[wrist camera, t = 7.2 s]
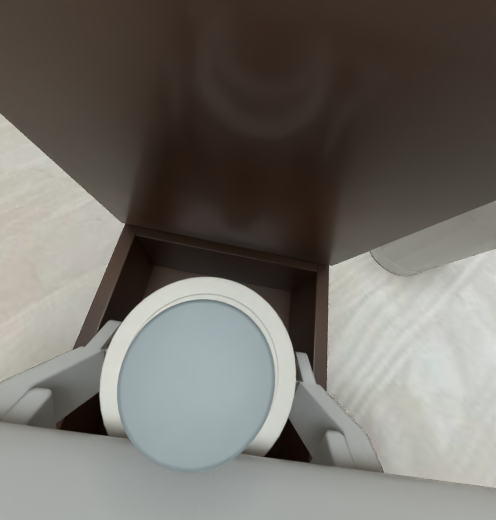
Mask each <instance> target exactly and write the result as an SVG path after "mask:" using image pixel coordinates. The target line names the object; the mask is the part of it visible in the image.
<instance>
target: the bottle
mask: <svg viewBox="0 0 496 520" xmlns="http://www.w3.org/2000/svg"><path fill="white" fill-rule="evenodd" d="M295 385H296V365H295V356H294V352H293V347H292V343H291V340H290V338H289V335H288V332H287V330H286V328H285V326H284V324H283V322H282V320H281V319H280V317H279V316H278V314H277V313H276V312H275V310H274V309H273V308H272V307H271V306H270V304H269V303H268V302H267V301H265V300H264V299H263V298H262V297H261V296H260V295H258V294H257V293H256V292H254V291H253V290H251V289H249V288H248V287H246V286H244V285H242V284H239V283H237V282H234V281H231V280H227V279H223V278H217V277H195V278H188V279H184V280H180V281H177V282H174V283H171V284H169V285H166V286H165V287H163V288H161V289H159V290H157V291H155V292H154V293H152V294H151V295H149V296H148V297H146V298H145V299H144V300H143V301H142V302H140V303H139V304H138V305H137V306H136V307H135V308H134V309H133V310H132V311H131V312H130V313H129V314H128V316H127V317H126V318H125V320H124V321H123V322H122V324H121V325H120V326H119V328H118V330H117V331H116V333H115V335H114V337H113V338H112V341H111V343H110V345H109V348H108V350H107V352H106V356H105V359H104V363H103V366H102V372H101V378H100V394H99V396H100V407H101V414H102V418H103V422H104V426H105V429H106V431H107V434H108V436H111V437H118V438H126V439H130V441H131V443H132V444H133V445H134V446H135V448H136V449H137V450H138V451H139V452H140V453H141V454H142V455H143V456H144V457H146V458H147V459H148V460H149V461H151V462H153V463H154V464H156V465H158V466H160V467H162V468H165V469H167V470H171V471H176V472H182V473H195V472H203V471H207V470H211V469H214V468H217V467H219V466H221V465H223V464H226V463H227V462H229V461H230V460H232V459H234V458H235V457H236V456H238V455H239V454H245V455H252V456H260V457H264V456H265V455H266V454H267V452H268V451H269V450H270V449H271V448H272V446H273V445H274V443H275V442H276V440H277V439H278V437H279V436H280V434H281V432H282V430H283V428H284V426H285V424H286V421H287V419H288V416H289V413H290V411H291V407H292V403H293V399H294V393H295Z"/></svg>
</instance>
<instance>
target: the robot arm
mask: <svg viewBox="0 0 496 520" xmlns="http://www.w3.org/2000/svg"><path fill="white" fill-rule="evenodd" d="M121 324H122V322H120V321H115V320H110V321H108V322H107V323H106V324H105V325H104V326H103V327H102V328H101V330H100V331H99V332H98V333H97V334H96V335H95V336H94V337H93V338H92V340H91V341H90V342H89V343H88V344H87V345H86V346H85V347H82V346H81V347H78V348H76V349H74V350H72V351H69V352H67V353H65V354H62V355H60V356H58V357H56V358H53V359H51V360H49V361H47V362H44V363H42V364H40V365H37V366H35V367H33V368H31V369H28V370H26V371H24V372H22V373H19V374H17V375H15V376H12V377H10V378H8V379H6V380H3V381H2V382H1V383H0V520H496V488H492V487H484V486H477V485H469V484H462V483H454V482H447V481H439V480H432V479H424V478H417V477H409V476H402V475H394V474H387V473H384V471H383V469H382V466H381V464H380V462H379V460H378V457H377V455H376V453H375V450H374V448H373V446H372V444H371V441H370V439H369V437H368V435H367V434H366V433H365V432H364V431H363V430H362V429H361V427H360V426H359V425H358V424H357V423H356V422H355V421H354V420H353V419H352V418H351V417H350V416H349V415H348V414H347V413H346V412H345V411H344V410H343V409H342V408H341V407H340V406H339V404H338V403H337V402H336V401H335V400H334V399H333V398H332V397H331V396H330V395H329V394H328V393H327V392H326V391H325V390H324V389H323V388H322V387H321V386H320V385H318V384H316V382H315V378H314V375H313V372H312V369H311V366H310V363H309V359H308V356H307V354H306V353H302V352H296V351H293V352H294V356H295V365H296V385H295V393H294V399H293V403H292V407H291V411H290V413H289V416H288V418H289V420H290V421H291V423H292V425H293V426H294V428H295V430H296V431H297V433H298V435H299V436H300V438H301V439H302V441H303V443H304V444H305V446H306V448H307V449H308V451H309V453H310V454H311V456H312V460H311V462H310V463H305V462H298V461H290V460H283V459H275V458H267V457H260V456H252V455H245V454H239V455H238V456H236V457H235V458H234V459H232V460H230V461H229V462H227V463H226V464H223V465H221V466H219V467H217V468H214V469H211V470H207V471H203V472H195V473H182V472H176V471H171V470H167V469H165V468H162V467H160V466H158V465H156V464H154V463H153V462H151V461H149V460H148V459H147V458H146V457H144V456H143V455H142V454H141V453H140V452H139V451H138V450H137V449H136V448H135V446H134V445H133V444H132V443H131V441H130V439H126V438H118V437H111V436H103V435H96V434H88V433H81V432H73V431H66V430H58V429H56V423H57V422H59V421H60V420H61V419H63V418H64V417H65V416H67V415H68V414H69V413H71V412H72V411H74V410H75V409H76V408H78V407H79V406H80V405H82V404H83V403H84V402H86V401H87V400H89V399H90V398H91V397H93V396H94V395H95V394H97V393H98V392H99V391H100V378H101V372H102V366H103V363H104V359H105V356H106V352H107V350H108V348H109V345H110V343H111V341H112V338H113V337H114V335H115V333H116V331H117V330H118V328H119V326H120V325H121Z"/></svg>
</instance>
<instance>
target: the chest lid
mask: <svg viewBox="0 0 496 520" xmlns="http://www.w3.org/2000/svg"><path fill="white" fill-rule="evenodd" d="M0 113H1V114H2V115H3V116H4V117H5V118H6V119H7V120H8V121H9V122H11V123H12V124H13V125H14V126H15V127H16V128H17V129H18V130H19V131H20V132H22V133H23V134H24V135H25V136H26V137H27V138H28V139H29V140H30V141H32V142H33V143H34V144H35V145H36V146H37V147H38V148H39V149H40V150H42V151H43V152H44V153H45V154H46V155H47V156H48V157H49V158H50V159H52V160H53V161H54V162H55V163H56V164H57V165H58V166H59V167H60V168H62V169H63V170H64V171H65V172H66V173H67V174H68V175H69V176H70V177H72V178H73V179H74V180H75V181H76V182H77V183H78V184H79V185H80V186H82V187H83V188H84V189H85V190H86V191H87V192H88V193H89V194H90V195H92V196H93V197H94V198H95V199H96V200H97V201H98V202H99V203H100V204H102V205H103V206H104V207H105V208H106V209H107V210H108V211H109V212H110V213H112V214H113V215H114V216H115V217H116V218H117V219H118V220H119V221H120V222H122V223H125V224H130V225H135V226H140V227H145V228H150V229H155V230H159V231H164V232H169V233H174V234H179V235H184V236H189V237H194V238H199V239H204V240H208V241H213V242H218V243H223V244H228V245H233V246H238V247H243V248H248V249H252V250H257V251H262V252H267V253H272V254H277V255H282V256H287V257H292V258H297V259H301V260H306V261H311V262H316V263H321V264H326V265H331V266H333V265H335V264H338V263H340V262H343V261H345V260H348V259H350V258H353V257H355V256H358V255H360V254H363V253H365V252H368V251H370V250H373V249H375V248H378V247H380V246H383V245H385V244H388V243H390V242H393V241H396V240H398V239H401V238H403V237H406V236H408V235H411V234H413V233H416V232H418V231H421V230H423V229H426V228H428V227H431V226H433V225H436V224H438V223H441V222H443V221H446V220H448V219H451V218H453V217H456V216H458V215H461V214H464V213H466V212H469V211H471V210H474V209H476V208H479V207H481V206H484V205H486V204H489V203H491V202H494V201H496V0H0Z"/></svg>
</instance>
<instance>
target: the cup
mask: <svg viewBox="0 0 496 520" xmlns="http://www.w3.org/2000/svg"><path fill="white" fill-rule="evenodd" d="M493 249H496V201H494V202H491V203H489V204H486V205H484V206H481V207H479V208H476V209H474V210H471V211H469V212H466V213H464V214H461V215H458V216H456V217H453V218H451V219H448V220H446V221H443V222H441V223H438V224H436V225H433V226H431V227H428V228H426V229H423V230H421V231H418V232H416V233H413V234H411V235H408V236H406V237H403V238H401V239H398V240H396V241H393V242H390V243H388V244H385V245H383V246H380V247H378V248H375V249H373V250H370V252H371V254H372V256H373V257H374V259H375V260H376V261H377V262H378V263H379V264H380V265H381V266H382V267H383V268H385V269H386V270H388V271H390V272H392V273H394V274H397V275H401V276H411V275H415V274H417V273H420V272H422V271H425V270H427V269H430V268H434V267H437V266H440V265H444V264H447V263H450V262H453V261H457V260H460V259H463V258H467V257H470V256H473V255H476V254H480V253H483V252H486V251H490V250H493Z"/></svg>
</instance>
